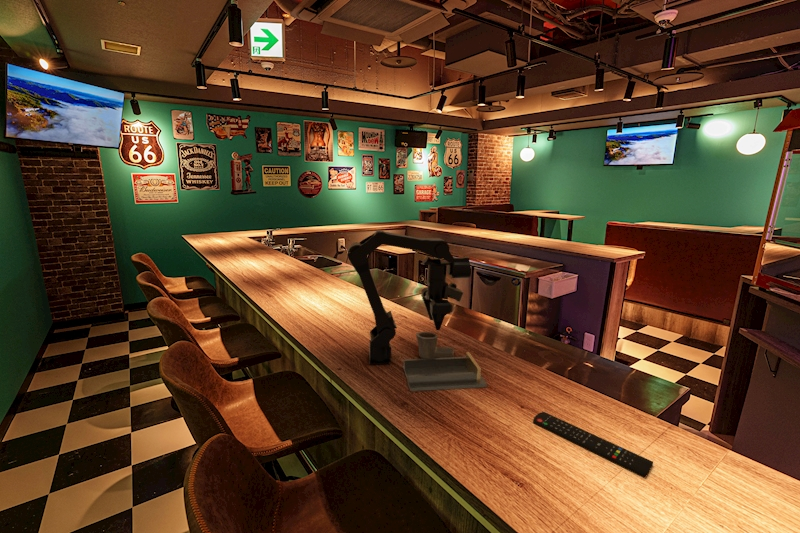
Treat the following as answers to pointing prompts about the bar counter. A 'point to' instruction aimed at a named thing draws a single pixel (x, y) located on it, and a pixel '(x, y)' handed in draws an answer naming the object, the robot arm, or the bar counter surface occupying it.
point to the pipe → (432, 346)
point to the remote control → (594, 443)
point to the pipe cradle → (443, 373)
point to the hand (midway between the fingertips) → (434, 324)
